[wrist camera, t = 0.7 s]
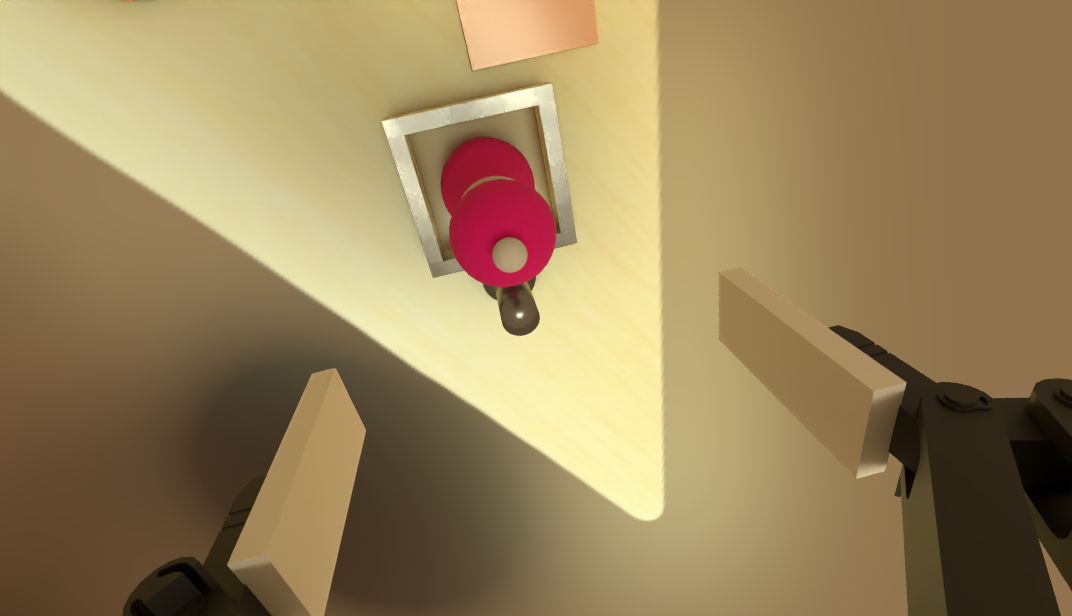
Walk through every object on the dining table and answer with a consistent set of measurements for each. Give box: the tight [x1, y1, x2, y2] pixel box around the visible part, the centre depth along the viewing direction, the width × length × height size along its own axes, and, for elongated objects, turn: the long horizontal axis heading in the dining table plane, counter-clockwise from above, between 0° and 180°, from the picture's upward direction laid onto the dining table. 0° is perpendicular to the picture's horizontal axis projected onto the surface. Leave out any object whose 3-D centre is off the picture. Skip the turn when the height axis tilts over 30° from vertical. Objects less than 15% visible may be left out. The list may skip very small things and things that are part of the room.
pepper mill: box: [441, 137, 556, 287], centre depth 32 cm, size 7×7×20 cm
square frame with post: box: [382, 82, 577, 336], centre depth 38 cm, size 18×12×9 cm
